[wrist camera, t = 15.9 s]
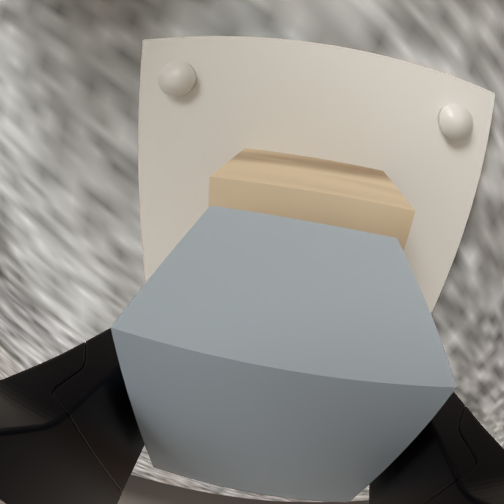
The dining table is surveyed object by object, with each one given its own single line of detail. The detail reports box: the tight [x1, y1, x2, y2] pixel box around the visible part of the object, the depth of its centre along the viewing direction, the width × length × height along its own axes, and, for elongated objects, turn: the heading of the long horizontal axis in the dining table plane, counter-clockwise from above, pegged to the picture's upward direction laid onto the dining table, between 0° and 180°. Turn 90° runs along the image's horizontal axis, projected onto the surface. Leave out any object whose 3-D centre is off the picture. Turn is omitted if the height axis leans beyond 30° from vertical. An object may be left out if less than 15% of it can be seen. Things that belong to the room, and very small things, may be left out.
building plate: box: [138, 36, 495, 313], centre depth 15 cm, size 16×16×2 cm
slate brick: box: [111, 205, 457, 502], centre depth 7 cm, size 5×5×5 cm
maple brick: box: [208, 148, 415, 251], centre depth 12 cm, size 6×6×5 cm
